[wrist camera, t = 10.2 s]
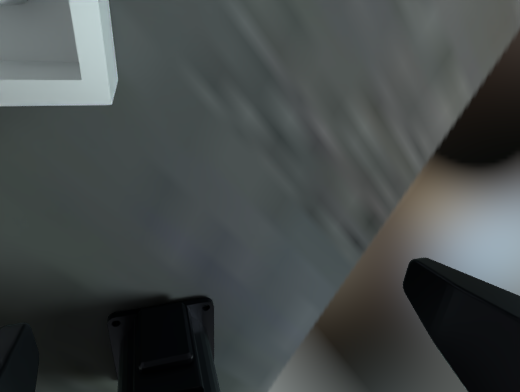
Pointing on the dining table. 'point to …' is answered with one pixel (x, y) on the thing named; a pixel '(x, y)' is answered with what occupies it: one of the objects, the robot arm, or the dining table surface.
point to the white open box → (56, 53)
